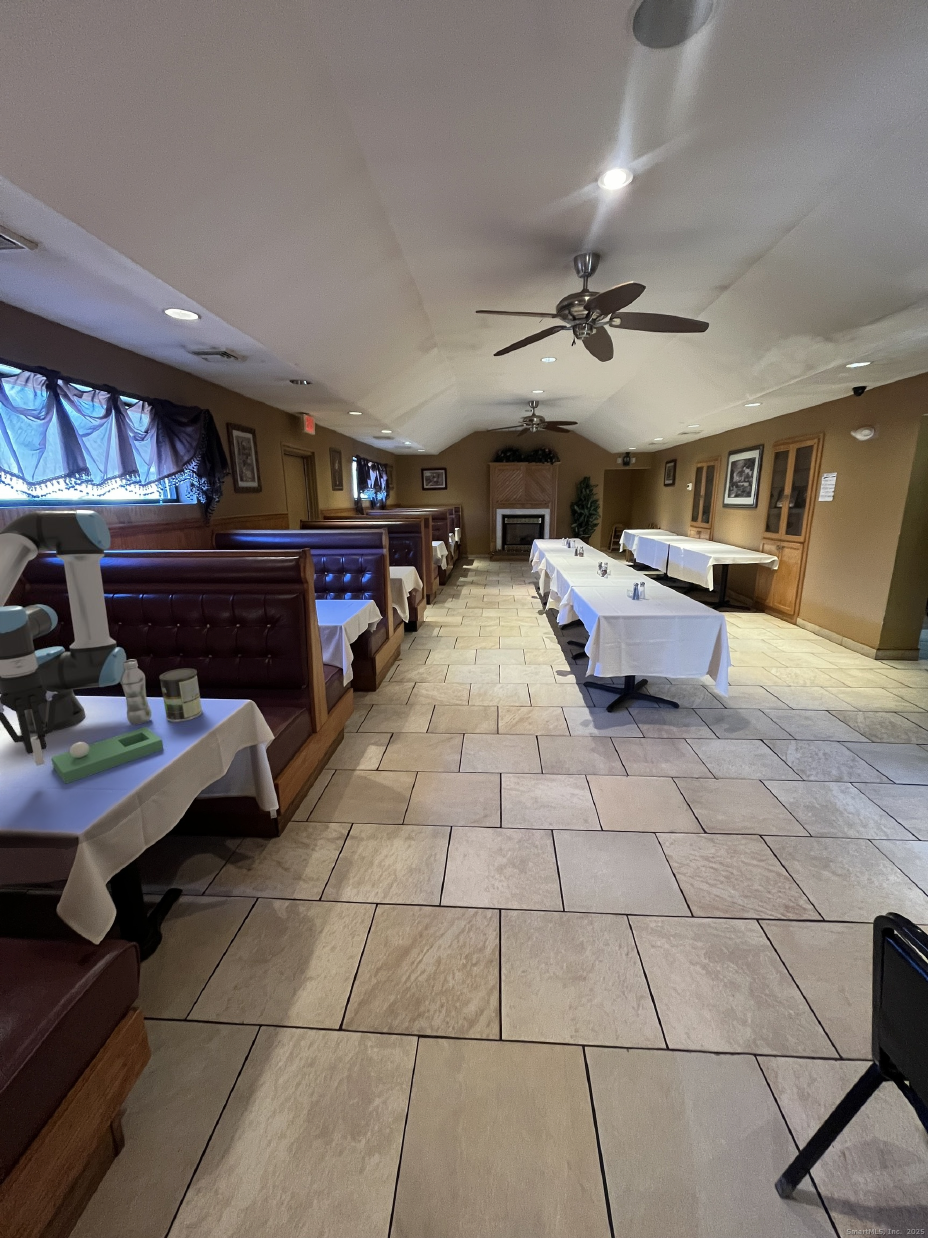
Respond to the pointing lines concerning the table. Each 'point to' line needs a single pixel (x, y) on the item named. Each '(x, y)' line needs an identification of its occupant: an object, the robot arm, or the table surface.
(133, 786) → the table surface
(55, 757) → the green
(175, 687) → the coffee can
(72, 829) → the table surface
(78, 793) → the table surface
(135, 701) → the plastic bottle
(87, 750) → the ball
